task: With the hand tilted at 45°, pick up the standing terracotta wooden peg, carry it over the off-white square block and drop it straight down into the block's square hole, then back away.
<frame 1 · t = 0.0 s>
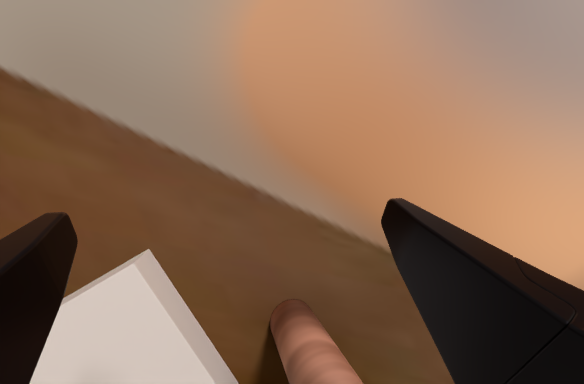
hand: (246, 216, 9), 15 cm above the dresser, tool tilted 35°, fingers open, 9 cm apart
peg: (291, 321, 25), on the dresser
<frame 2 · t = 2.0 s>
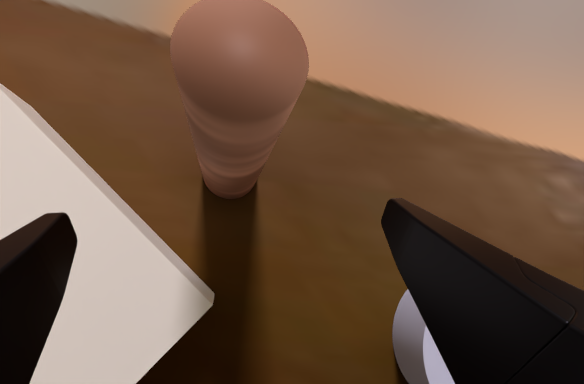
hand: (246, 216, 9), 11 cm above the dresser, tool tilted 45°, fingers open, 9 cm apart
peg: (230, 172, 20), on the dresser
light grey rounded piece: (469, 344, 22), on the dresser
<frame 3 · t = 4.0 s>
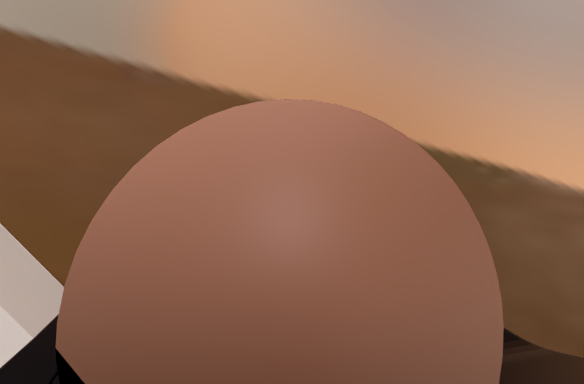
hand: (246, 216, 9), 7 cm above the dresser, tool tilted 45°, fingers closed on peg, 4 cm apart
peg: (237, 258, 15), on the dresser, touching gripper
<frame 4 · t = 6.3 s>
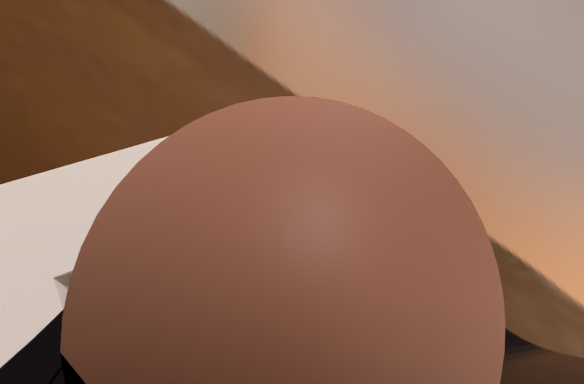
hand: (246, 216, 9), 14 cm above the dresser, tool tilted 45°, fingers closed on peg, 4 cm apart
hole block: (140, 292, 20), on the dresser
peg: (238, 257, 15), point 7 cm above the dresser, touching gripper
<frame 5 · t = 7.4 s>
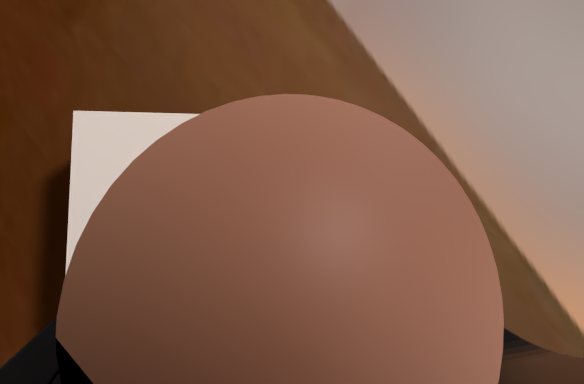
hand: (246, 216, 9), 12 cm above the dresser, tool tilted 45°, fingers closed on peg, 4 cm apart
hole block: (233, 253, 20), on the dresser
peg: (237, 257, 15), point 5 cm above the dresser, touching gripper
when the fingers open (8 cm above the dresser, at t = 8.5 s): peg drops 1 cm, resting in hole block.
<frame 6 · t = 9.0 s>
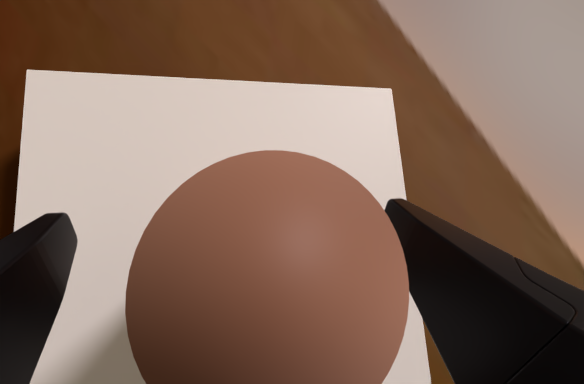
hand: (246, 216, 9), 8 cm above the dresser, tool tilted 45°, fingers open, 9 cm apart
hole block: (236, 257, 16), on the dresser
peg: (236, 257, 16), resting in hole block
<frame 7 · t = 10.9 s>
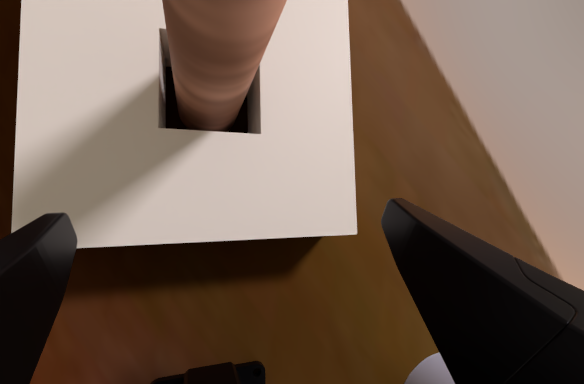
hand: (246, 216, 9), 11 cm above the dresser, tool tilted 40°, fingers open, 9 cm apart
hole block: (208, 109, 19), on the dresser
peg: (208, 109, 19), resting in hole block
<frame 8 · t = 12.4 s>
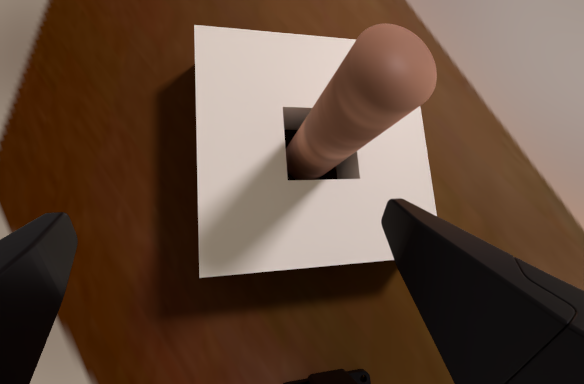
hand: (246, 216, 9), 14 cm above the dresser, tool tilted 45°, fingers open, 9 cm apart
hole block: (305, 159, 24), on the dresser
peg: (305, 159, 24), resting in hole block
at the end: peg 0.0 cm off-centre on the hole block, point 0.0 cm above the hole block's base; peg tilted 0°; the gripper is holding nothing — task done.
